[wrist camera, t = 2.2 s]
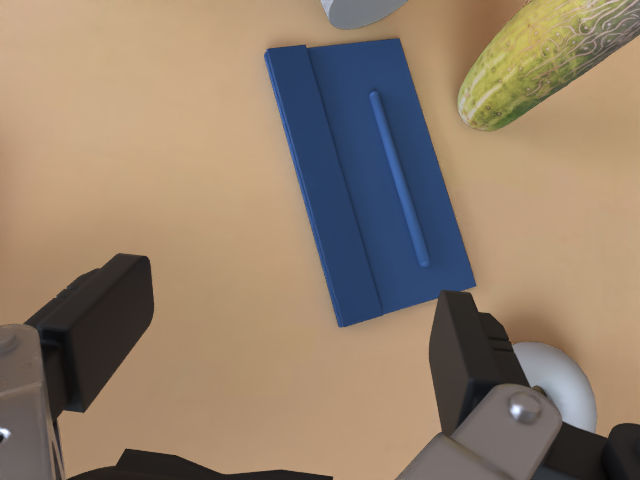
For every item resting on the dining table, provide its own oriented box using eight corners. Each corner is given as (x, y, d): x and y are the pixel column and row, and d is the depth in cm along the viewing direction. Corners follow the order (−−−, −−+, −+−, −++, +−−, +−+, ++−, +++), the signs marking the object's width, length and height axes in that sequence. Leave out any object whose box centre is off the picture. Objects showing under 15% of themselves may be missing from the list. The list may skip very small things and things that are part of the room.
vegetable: (424, 103, 40) (634, -101, 21) (465, 63, 42) (692, -158, 23) (472, 154, 40) (722, -2, 21) (511, 111, 42) (771, -66, 23)
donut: (469, 333, 37) (462, 467, 35) (496, 332, 34) (490, 480, 32) (573, 349, 39) (573, 477, 37) (607, 350, 36) (609, 490, 34)
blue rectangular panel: (263, 55, 37) (265, 47, 36) (396, 41, 40) (402, 33, 39) (338, 327, 34) (343, 327, 33) (473, 286, 38) (481, 285, 37)
